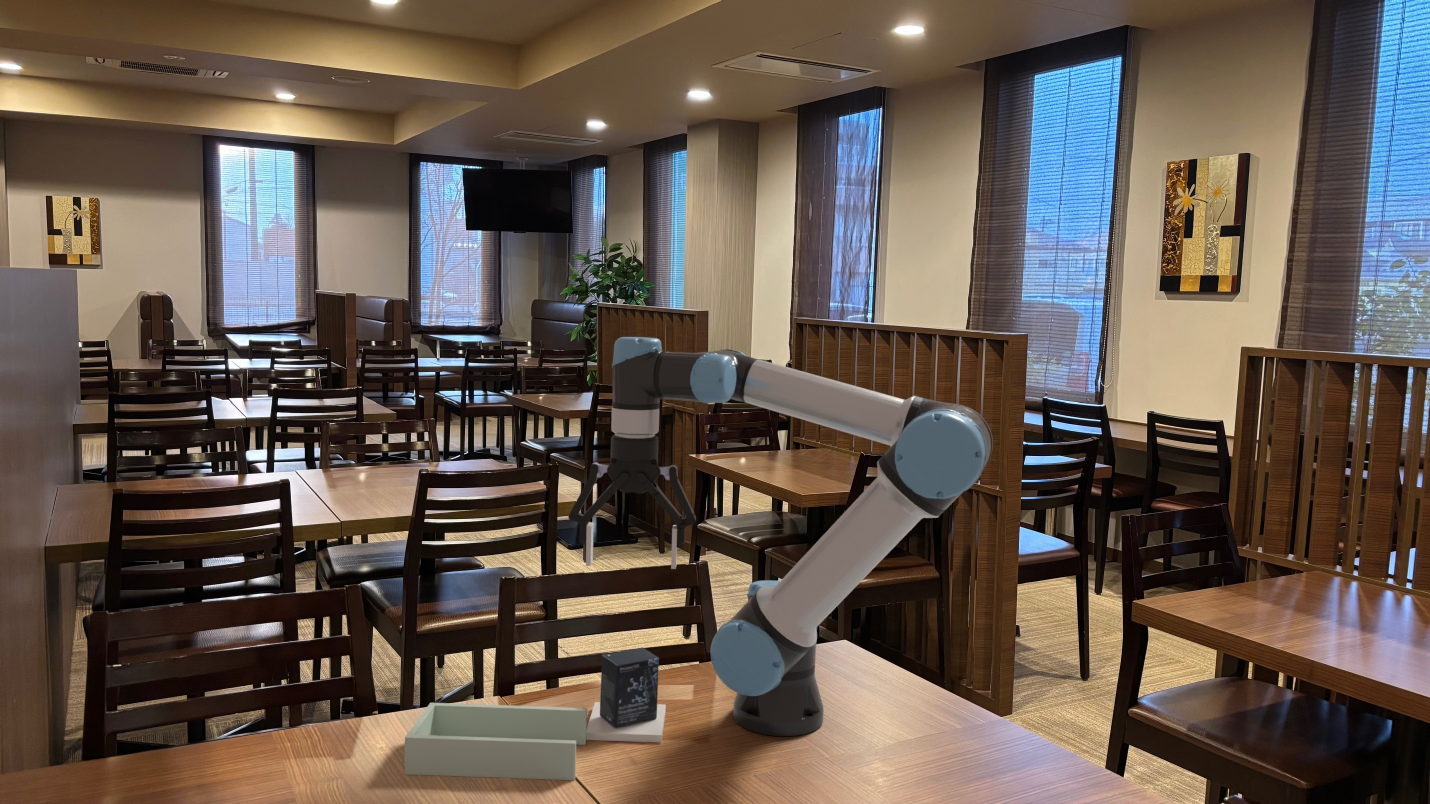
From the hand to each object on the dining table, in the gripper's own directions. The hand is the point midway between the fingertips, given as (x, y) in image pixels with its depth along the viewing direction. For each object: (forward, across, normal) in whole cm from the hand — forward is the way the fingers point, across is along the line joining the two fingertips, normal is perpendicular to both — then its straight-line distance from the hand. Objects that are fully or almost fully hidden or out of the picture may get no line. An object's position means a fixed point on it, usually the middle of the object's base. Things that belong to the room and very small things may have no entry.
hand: (631, 565), depth 159 cm
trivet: (+27, 0, 0) cm, 27 cm away
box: (+26, 0, 0) cm, 26 cm away
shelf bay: (+27, +18, +13) cm, 35 cm away
